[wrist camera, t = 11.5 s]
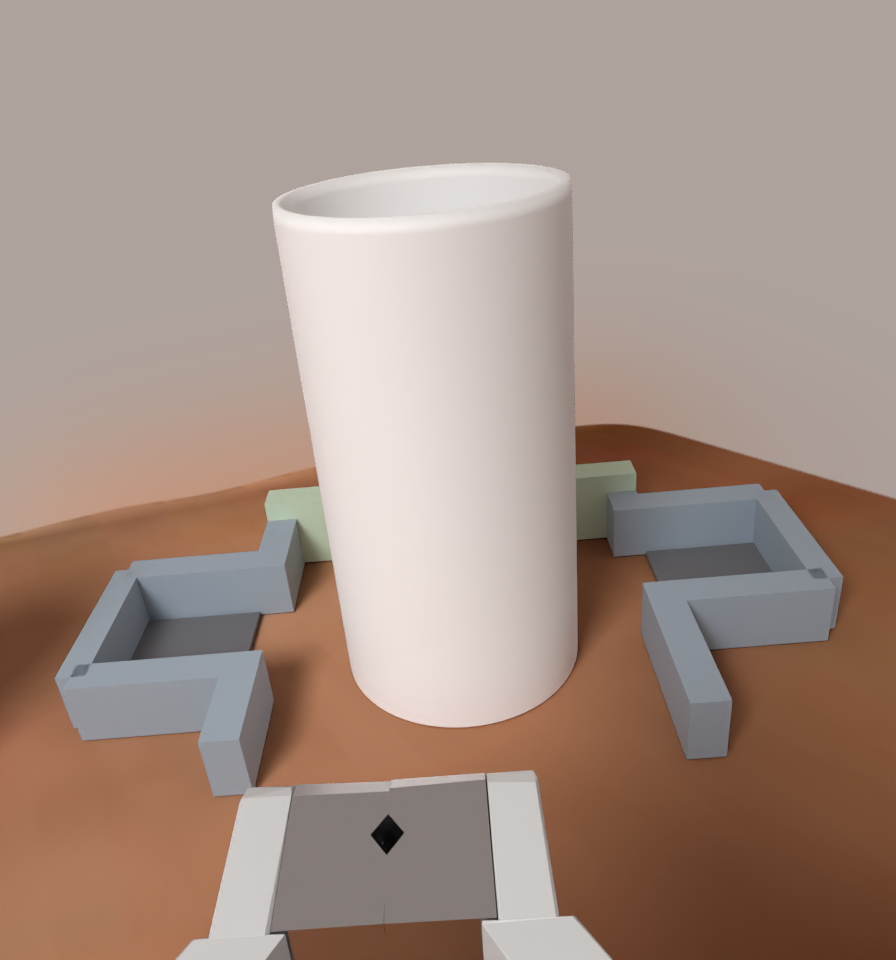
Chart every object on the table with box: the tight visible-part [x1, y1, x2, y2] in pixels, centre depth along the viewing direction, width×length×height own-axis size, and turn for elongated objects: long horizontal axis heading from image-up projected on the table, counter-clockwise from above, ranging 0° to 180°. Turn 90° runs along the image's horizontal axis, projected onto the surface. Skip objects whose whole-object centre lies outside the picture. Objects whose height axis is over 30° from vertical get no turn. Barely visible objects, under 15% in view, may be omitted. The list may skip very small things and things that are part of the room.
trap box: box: [55, 460, 843, 796], centre depth 31 cm, size 26×14×3 cm, turn 92°
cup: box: [272, 163, 578, 728], centre depth 27 cm, size 8×8×16 cm
